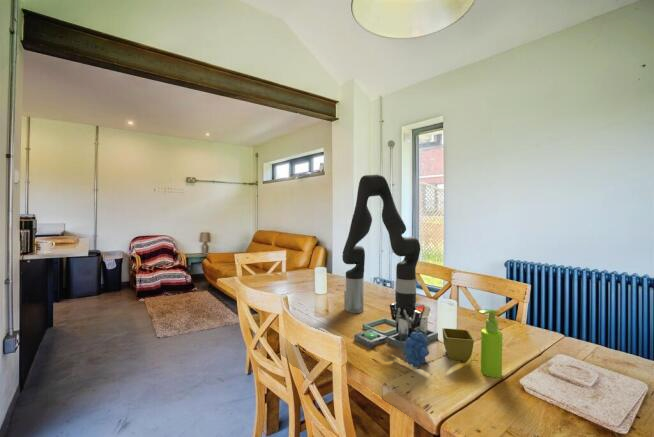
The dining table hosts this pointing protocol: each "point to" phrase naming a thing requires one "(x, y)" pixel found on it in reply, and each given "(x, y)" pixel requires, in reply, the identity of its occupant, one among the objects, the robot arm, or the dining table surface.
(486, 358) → the soap dispenser
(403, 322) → the cylinder
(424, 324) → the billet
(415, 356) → the grapes
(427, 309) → the wooden puzzle
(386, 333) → the tray
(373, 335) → the button
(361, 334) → the grey button housing
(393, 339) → the tray
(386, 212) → the robot arm
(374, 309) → the dining table surface
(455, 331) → the flower pot
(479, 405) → the dining table surface
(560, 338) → the dining table surface
